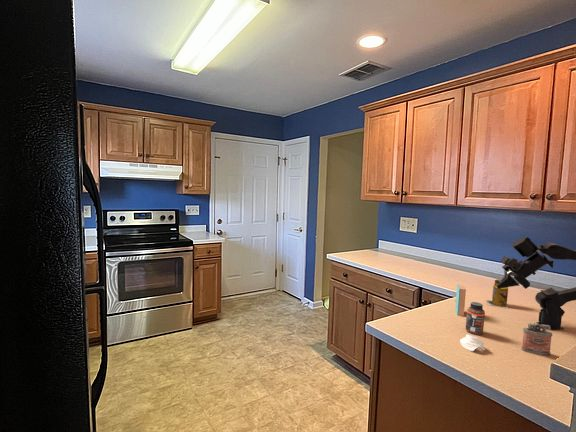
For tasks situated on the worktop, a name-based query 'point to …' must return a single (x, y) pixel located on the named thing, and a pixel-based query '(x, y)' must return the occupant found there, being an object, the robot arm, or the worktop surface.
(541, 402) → the worktop surface
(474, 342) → the whipped cream
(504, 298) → the condiment
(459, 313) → the tile
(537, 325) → the lighter
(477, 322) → the supplement bottle
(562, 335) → the worktop surface
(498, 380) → the worktop surface
